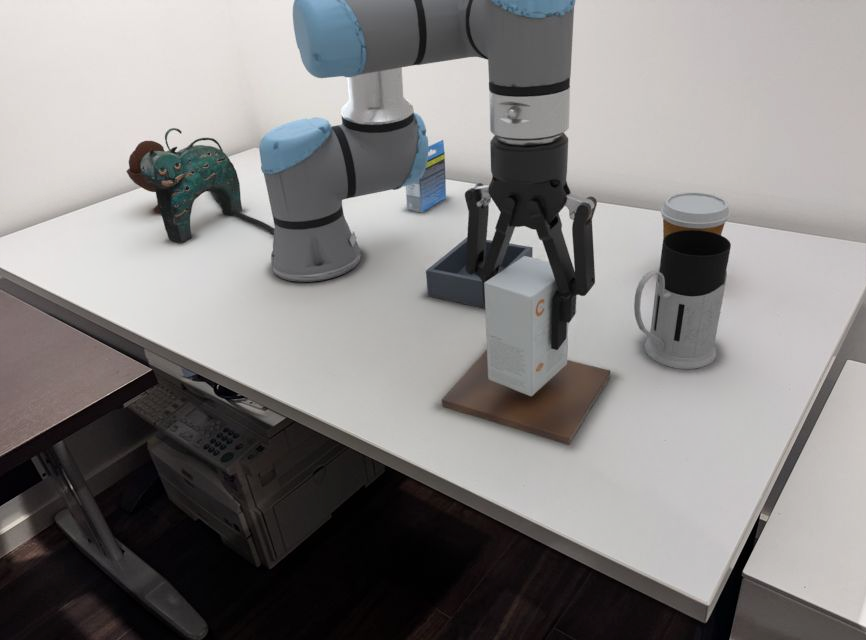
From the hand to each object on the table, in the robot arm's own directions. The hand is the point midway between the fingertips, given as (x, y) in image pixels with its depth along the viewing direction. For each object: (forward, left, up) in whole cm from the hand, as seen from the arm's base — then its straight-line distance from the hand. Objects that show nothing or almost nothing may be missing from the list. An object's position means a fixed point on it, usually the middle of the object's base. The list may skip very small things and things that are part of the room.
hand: (527, 336), depth 77 cm
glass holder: (+13, +14, -8) cm, 21 cm away
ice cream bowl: (-97, +28, -8) cm, 101 cm away
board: (0, 0, -8) cm, 8 cm away
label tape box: (-44, +50, -8) cm, 67 cm away
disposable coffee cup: (+10, +37, -8) cm, 39 cm away
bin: (-18, +23, -8) cm, 30 cm away
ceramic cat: (-81, +24, -8) cm, 85 cm away
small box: (0, 0, -5) cm, 5 cm away
